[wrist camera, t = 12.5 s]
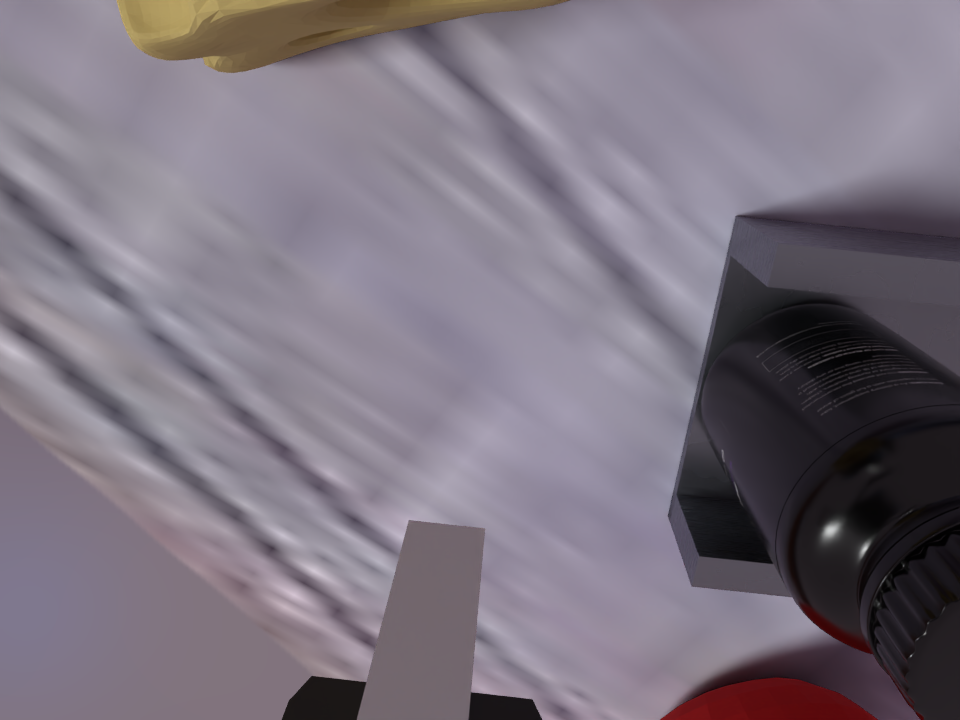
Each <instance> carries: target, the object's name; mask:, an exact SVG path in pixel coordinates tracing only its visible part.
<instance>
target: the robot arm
mask: <svg viewBox="0 0 960 720" xmlns="http://www.w3.org/2000/svg"><path fill="white" fill-rule="evenodd" d="M484 534H485V529H484V528H475V527H466V526H457V525H448V524H439V523H430V522H421V521H412V520H409V522H408V526H407V530H406V533H405V537H404V541H403V545H402V549H401V553H400V556H399V560H398V564H397V568H396V572H395V575H394V579H393V583H392V587H391V591H390V595H389V598H388V602H387V606H386V610H385V614H384V617H383V621H382V625H381V629H380V633H379V637H378V640H377V644H376V648H375V652H374V656H373V659H372V663H371V667H370V671H369V675H368V679H367V682H359V681H351V680H342V679H333V678H325V677H316V676H311V677H310V678H309V680H308V681H307V682H306V683H305V684H304V685H303V686H302V687H301V688H300V689H299V690H298V692H297V693H296V694H295V695H294V696H293V697H292V698H291V699H290V700H289V702H288V705H287V707H286V710H285V713H284V715H283V718H282V720H542V718H541V716H540V714H539V712H538V710H537V708H536V706H535V704H534V702H533V700H532V699H524V698H516V697H507V696H498V695H490V694H481V693H472V692H471V685H472V673H473V661H474V650H475V638H476V627H477V615H478V603H479V592H480V580H481V568H482V557H483V545H484Z"/></svg>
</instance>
